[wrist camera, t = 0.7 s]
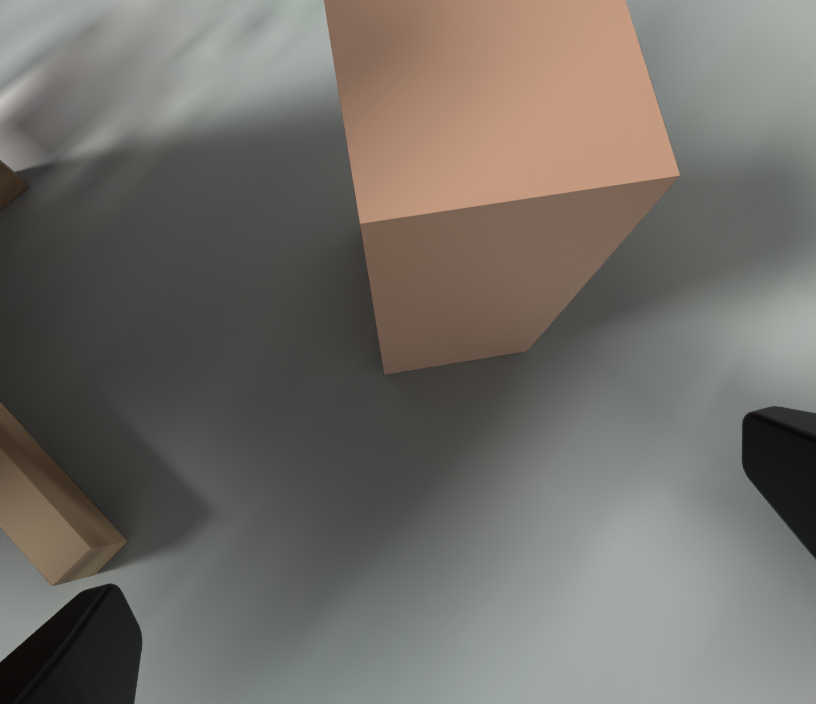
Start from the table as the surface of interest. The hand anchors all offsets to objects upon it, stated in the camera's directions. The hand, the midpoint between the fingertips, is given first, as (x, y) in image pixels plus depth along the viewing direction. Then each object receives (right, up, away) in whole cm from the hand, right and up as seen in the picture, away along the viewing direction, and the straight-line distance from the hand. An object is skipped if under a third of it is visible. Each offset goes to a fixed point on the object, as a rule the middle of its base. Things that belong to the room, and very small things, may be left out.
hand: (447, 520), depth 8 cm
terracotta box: (+1, +5, +14) cm, 15 cm away
